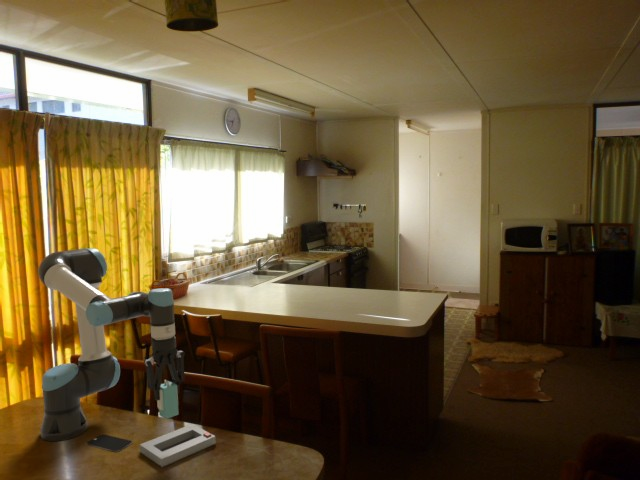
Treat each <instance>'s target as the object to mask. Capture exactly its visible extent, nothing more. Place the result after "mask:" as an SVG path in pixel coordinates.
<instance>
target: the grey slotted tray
mask: <svg viewBox="0 0 640 480" xmlns="http://www.w3.org/2000/svg"><path fill="white" fill-rule="evenodd" d="M216 440H217V439H216V435H214V434H212V433H210V432H209V431H206V430H205V429H203V428H201V427H200V426H198V425H196V424H194V423H191V424H189V425H186V426H184V427H180V428H178V429H175V430H173V431H171V432H168V433H165V434H163V435H160V436H157V437H155V438H153V439H150V440H147V441H146V442H143V443H140V444H139V450H140V451H139V453H141V455H143V456H144V457H146V458H147V459H149V460H150V461H152V462H153V463H155V464H156V465H158V466H159V467H161V468H165V467H167V466H169V465H172V464H173V463H176V462H179V461H181V460H183V459H185V458H187V457H190V456H192V455H194V454H196V453H198V452H201V451H203V450H206V449H208V448H210V447H213V446H215V445H216V444H217V441H216Z"/></svg>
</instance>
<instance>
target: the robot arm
mask: <svg viewBox="0 0 640 480" xmlns="http://www.w3.org/2000/svg"><path fill="white" fill-rule="evenodd" d="M37 271H38V272H37V273H38V278H39V280H40V282H41V283H42V284H43V285H44V286H46V287H47V288H48V289H50V290H54V291H58V292H59V293H61V295H62V296H64V297H66V298H67V299H69V300H70V301H71V302H73V303H74V304H75V311H76V317H77V318H76V319H77V325H78V326H77V328H78V335H79V342H80V349H81V355H80V356H79V357H78V365H77V364H76V363H72V362H71V363H70V362H69V363H65V364H64V363H61V364H59V365H55V366H53V367H52V368H49V369H48V370H46V371H45V373H44V374H43V375H42V379H41V380H42V382H41V383H42V384H41V389H42V397H43V407H44V409H43V410H44V415H43V420H42V422H41V427H40V437H41V440H43V441H46V442H47V441H48V442H60V441H61V442H62V441H65V440H69V439H73V438H75V437H77V436H79V435H81V434H83V433H84V432H86V430H87V429H88V421H87V418H86V416H85V413H84V411H83V409H82V406H81V399H83V398H85V397H88V396H91V395H93V394H96V393H99V392H103V391H107V390H108V389H111V388H113V387H114V386H116V385H117V383H118V382H119V380H120V376H121V367H120V362H118V359H117V357H116V356H113V355H112V352H110V351H109V350H108V349H107V343H106V336H105V334H106V333H105V327H104V326H107V325H110V324H114V323H117V322H118V323H119V322H122V321H126V320H130V319H135V318H140V317H146V318H147V317H148V318H149V322H150V323H149V324H150V336H151V349H152V353H151V357H150V358H148V359H144V360H143V363H144V365H145V369H146V383H147V389H148V390H150V391H152V392H153V395H154V400H156V402H157V409H158V410H159V409H160V410H163V393H162V390H161V389H160V386H161V384H162V378H163V371H164V369H165V366H167V367H168V370H169V373H170V376H171V380H172V383H174V384H176V385H177V397H178V396H179V395H178V394H180V392H181V389H180V386H181V384H182V382H184V381H185V359H184V358H185V354H186V352H185V351H183V350H178V349H177V340H176V339H177V338H176V336H175V335H176V325H175V324H176V322H175V306H174V305H175V301H174V295H173V290H172V289H171V288H167V287H165V288H164V287H163V288H153V289H150V290H149V292H145V291H133V292H131V293H129V294H128V295H125V296H120V297H115V298H111V297H109V296H108V295H106V294H104V292H101V291H100V289H99V287H100V286H101V284H102V283H103V278H104V277H105V276H106V275H107V271H108V264H107V261H106V258H105V256H104V255H103V253H102V252H101V251H100V250H98V249H97V248H93V247H91V248H87V247H86V248H84V247H83V248H80V249H70V250H61V251H55V252H51V253H50V254H48V255H47V256H45V257H44V258H43V259H42V260H41V261H40V264H39V266H38V270H37ZM175 359H176V362H175ZM154 362H155V372H154ZM178 398H179V397H178Z"/></svg>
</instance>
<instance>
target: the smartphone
mask: <svg viewBox="0 0 640 480" xmlns="http://www.w3.org/2000/svg"><path fill="white" fill-rule="evenodd" d="M85 445H87V446H90V447H93V448H98V449H102V450H105V451H109V452H111V453H118V452H121V451H123V450H124V449H126V448H128V447H129V446H131V445H133V440H131V439H130V440H129V439H125V438H120V437H116V436H112V435H107V434H100V435H98V436H96V437H95V438H92V439H91V440H88V441H87V442H86V443H85Z"/></svg>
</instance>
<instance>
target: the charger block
mask: <svg viewBox="0 0 640 480" xmlns="http://www.w3.org/2000/svg"><path fill="white" fill-rule="evenodd" d="M163 381H164V383H161V386H160V389H161V390H162V393H163V410H160V409H158V413H159V416H160V417H161V418H163V419H169V418H173V417H175V416H178V415H179V413H180V412H179V397H177V385H176V384H174V383H173V381H169V380H167V379H164V380H163Z"/></svg>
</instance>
